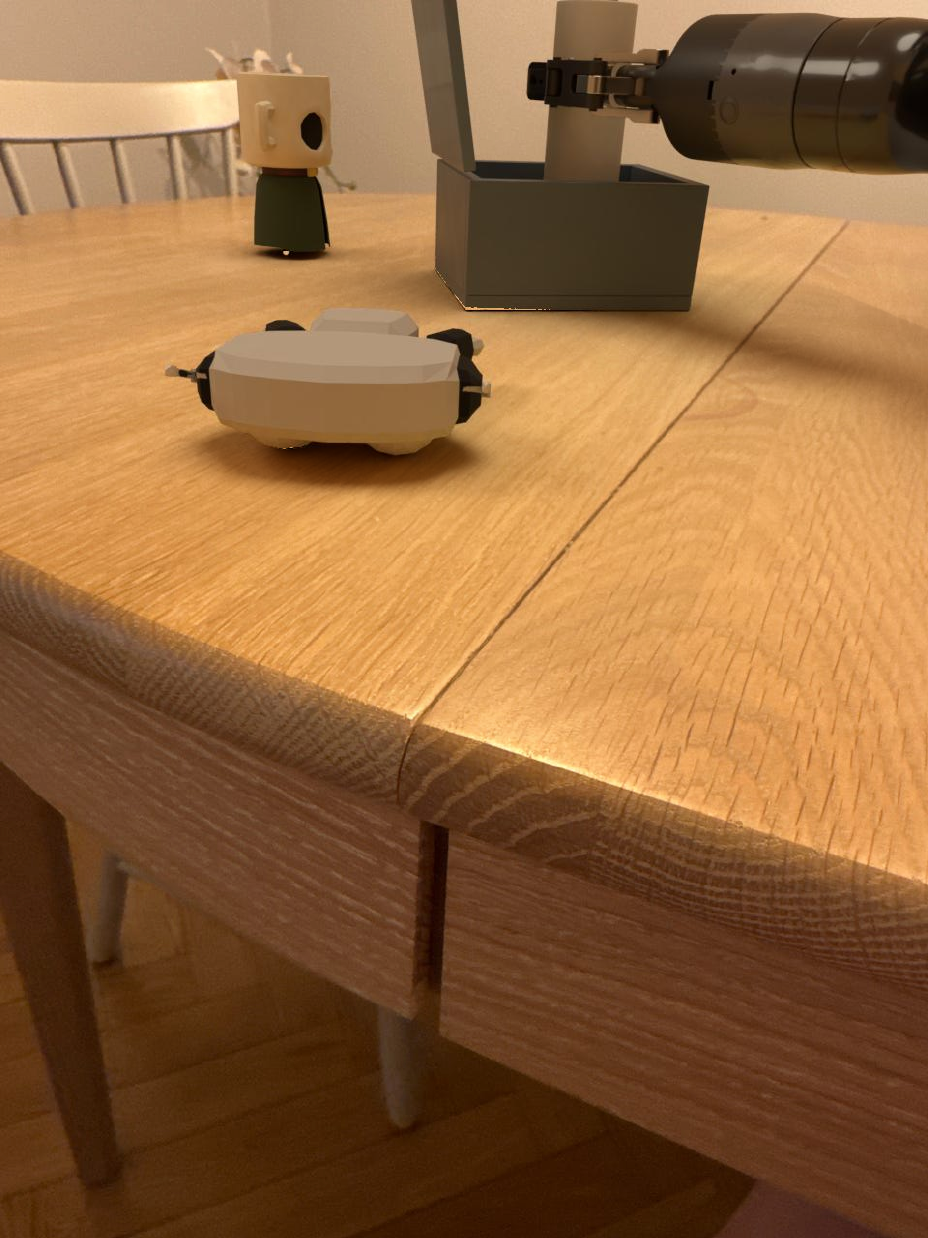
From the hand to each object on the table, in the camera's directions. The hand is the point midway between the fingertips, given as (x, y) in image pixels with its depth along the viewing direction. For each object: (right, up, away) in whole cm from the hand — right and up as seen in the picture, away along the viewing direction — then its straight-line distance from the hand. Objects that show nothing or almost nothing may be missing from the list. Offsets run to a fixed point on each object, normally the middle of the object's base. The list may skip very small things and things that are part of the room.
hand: (564, 82), depth 64 cm
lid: (-8, +2, -4) cm, 10 cm away
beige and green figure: (-21, -6, +15) cm, 26 cm away
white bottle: (+1, -7, +2) cm, 7 cm away
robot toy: (-12, -28, -21) cm, 37 cm away
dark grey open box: (0, -12, +6) cm, 13 cm away
